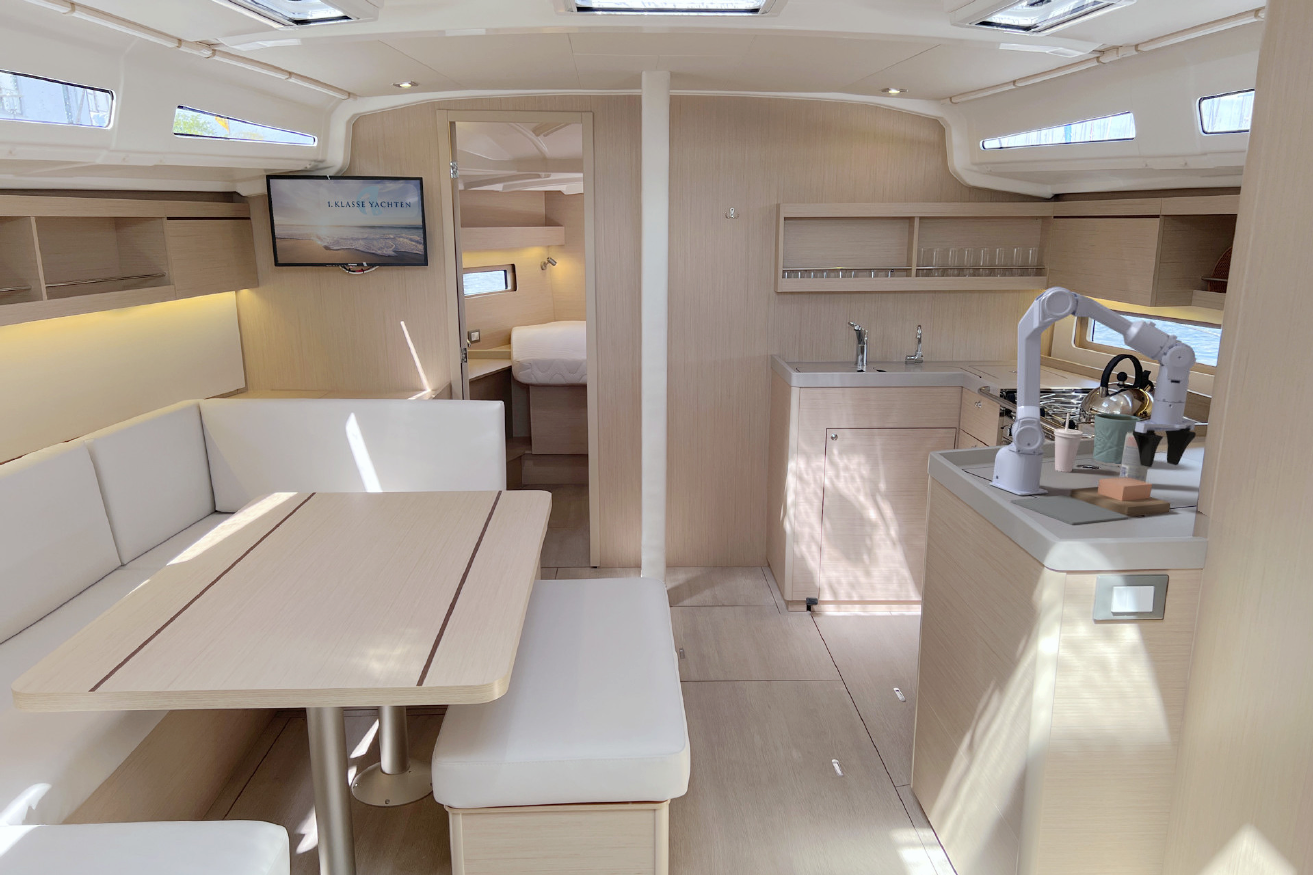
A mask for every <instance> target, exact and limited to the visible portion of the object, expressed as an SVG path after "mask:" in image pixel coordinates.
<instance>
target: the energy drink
mask: <svg viewBox="0 0 1313 875" xmlns="http://www.w3.org/2000/svg"><path fill="white" fill-rule="evenodd" d="M1148 469H1149V467H1146V466H1142V465H1141V464H1140V456H1139V450H1138V446H1137V443H1136V440H1135V438H1134V436H1133V431H1129V432H1127V434H1126V437H1125V444H1124V451H1123V457H1122V464H1121V467H1120V472H1119V477H1118V478H1120V477H1129V478H1133V479H1136V480H1140V481H1143V482H1147V475H1148Z"/></svg>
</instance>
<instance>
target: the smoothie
mask: <svg viewBox="0 0 1313 875" xmlns="http://www.w3.org/2000/svg"><path fill="white" fill-rule="evenodd" d="M1070 415H1071V413H1069V412H1067V414H1066V420H1065V426H1064V427H1065V428H1056V429H1054V432H1053V435H1054V470H1055V471H1057V470H1058V471H1057V472H1061V471H1062V473H1071V471H1073V469H1074V464H1075V461H1076V458H1077V454H1078V451H1079V450H1078V449H1079V446H1080V443H1081V439H1082V438H1083V437H1084V432H1083V431H1081V430H1076V429H1070V428H1069V422H1070V417H1071V416H1070Z"/></svg>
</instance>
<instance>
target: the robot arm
mask: <svg viewBox="0 0 1313 875" xmlns="http://www.w3.org/2000/svg"><path fill="white" fill-rule="evenodd" d="M1070 315H1071V316H1073V317H1075V318H1077V317H1080V318H1090V319H1092V320H1094V321H1095V322H1097V323H1099V324H1101V325H1103V326H1105V327H1107V328H1109V329H1111V330H1112V331H1114V332H1117V333H1118V334H1120V335H1122V337H1123V343H1124V345H1126V346H1127V347H1129V348H1131V349H1133V350H1134V351H1135V352H1138V353H1140V354H1141V355H1143V356H1145V357H1147V358H1148V359H1150V360H1152V361H1156V360H1157V362H1158V364H1159V367H1158V373H1157V376H1156V382H1155V386H1154V392H1153V393H1154V395H1153V401H1152V407H1151V412H1150V413H1151V414H1150V419H1146V420H1142V421H1141V420H1140V422H1136V427H1135V430H1133V436H1134V438H1135V440H1136V443H1137V446H1138V450H1139V456H1140V464H1141V465H1142V466H1146V467H1148V468H1152V467H1153V464H1154V460H1155V457H1156V452H1157V449H1158V447H1159V445H1160V442H1161V441H1162V439H1163V438H1164V436H1162V435H1160V434H1159V435H1158V434H1157V433H1155V432H1165V434H1166V439H1167V440H1166V441H1167V450H1166V463H1167V464H1170V465H1174V466H1179V464H1180V461H1181V459H1182V457H1183V454H1184V452H1185V450H1186V449H1187V448H1188V446H1189V444H1191V442H1192V441H1193V440H1194V439H1195V438H1196V436H1197V434H1196V432H1195V431H1194V430H1195V425H1196V421H1195V420H1191V419H1184V415H1185V414H1184V413H1185V408H1186V401H1187V395H1188V389H1189V383H1190V378H1189V377H1190V373H1191V368H1192V367H1194V366H1195V364H1196V362H1197V358H1196V354H1195V353H1196V352H1195V351H1194V348H1193V347H1191V345H1189V344H1187V343H1184V342H1183V341H1181V340H1179V339H1178V336H1177V335H1175V334H1173V333H1172V334H1168V333H1166V332H1165V331H1163V330H1161V329H1159V328H1158V327H1155V326H1156V325H1157V324H1156V323H1155V322H1153V321H1151V320H1149V321H1148V322H1147V321H1145V320H1142V319H1141V320H1137V321H1134V322H1132V321H1130V320H1129V319H1127V318H1126V317H1124V316H1122V315H1121V314H1119V313H1117V312H1115V311H1114V310H1112V309H1110V308H1109V307H1107V306H1105V305H1103V304H1102V303H1100V302H1099V301H1097V300H1095V299H1093V298H1092V297H1088V296H1086V295H1082V294H1080V293H1076V292H1074V291H1071V290H1070V289H1068V288H1064V287H1062V286H1053V287H1050V288H1048V289H1046V290H1045V291H1043V292H1042V293H1040V294H1039V295H1038V296H1037V297H1035V299H1034V301H1033V302H1032V303H1031V305H1030V307H1029V308H1028V309H1027V310H1026V312H1025V314H1024V315H1023V316H1022V317H1021V319H1020V320H1019V322H1018V324H1017V364H1016V365H1017V370H1016V371H1017V372H1016V373H1017V374H1016V377H1017V378H1016V380H1017V381H1016V383H1017V386H1016V412H1015V414H1016V417H1015V421H1014V423H1013V424H1012V426H1011V436H1012V442H1011V443H1010V444H1008V445H1005V446H1003V447H1001V448H1000V449H999V450H998V451H997V453H996V455H995V459H994V468H993V476H992V481H991V482H989V485H990V486H994V488H995V487H996V488H999V489H1001V490H1004V491H1007V492H1010V493H1013V494H1015V495H1018V496H1028V495H1029V496H1030V495H1038V494H1039V495H1040V494H1048V492H1049V491H1048V490H1047V489H1044V488H1041V487H1040V483H1041V482H1040V481H1041V476H1042V475H1041V474H1042V468H1043V461H1044V460H1043V459H1044V452H1045V451H1044V449H1043V448H1042V447H1043V446H1044V444H1045V441H1046V437H1045V436H1046V435H1045V432H1044V430H1043V426H1042V424H1041V410H1040V409H1041V407H1040V406H1041V405H1040V404H1041V400H1040V399H1041V356H1042V355H1041V353H1042V350H1041V347H1042V334H1043V333H1044V332H1046V330H1047V329H1049V328H1050V327H1051V326H1053V324H1054V323H1056V322H1058V321H1061V320H1064V319H1065V318H1067V317H1069V316H1070Z"/></svg>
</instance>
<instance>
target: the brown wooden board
mask: <svg viewBox="0 0 1313 875" xmlns="http://www.w3.org/2000/svg"><path fill="white" fill-rule="evenodd" d="M1070 490H1071V491H1070V496H1069V497H1072V498H1075V499H1078V500H1081V501H1084V502H1087V503H1090V504H1093V505H1096V506H1099V507H1102V508H1105V509H1108V510H1111V511H1114V512H1117V513H1120V514H1123V515H1126V516H1129V518H1130V517H1131V518H1132V517H1138V516H1148V515H1149V516H1151V515H1156V514H1167V513H1170V510H1171V509H1170V508H1171V502H1169V501H1165V500H1162V499H1159V498H1155V497H1153V496H1150V498H1145V499H1135V500H1125V501H1121V500H1118V499H1114V498H1111V497H1108V496H1105V495H1102V494H1099V493H1098V486H1091V487H1080V488H1078V487H1077V488H1071V489H1070Z"/></svg>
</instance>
